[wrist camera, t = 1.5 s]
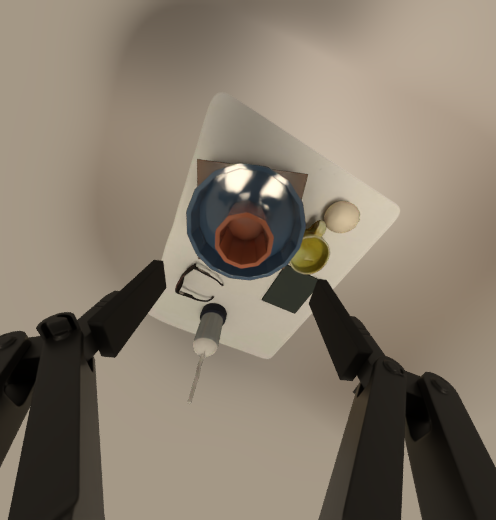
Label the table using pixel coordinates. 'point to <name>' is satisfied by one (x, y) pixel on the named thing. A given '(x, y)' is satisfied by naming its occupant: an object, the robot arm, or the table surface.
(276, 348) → the table surface
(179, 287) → the sunglasses
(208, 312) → the humidifier
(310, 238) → the mug
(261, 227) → the cup
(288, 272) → the mat
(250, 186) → the bowl
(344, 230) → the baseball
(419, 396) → the robot arm
